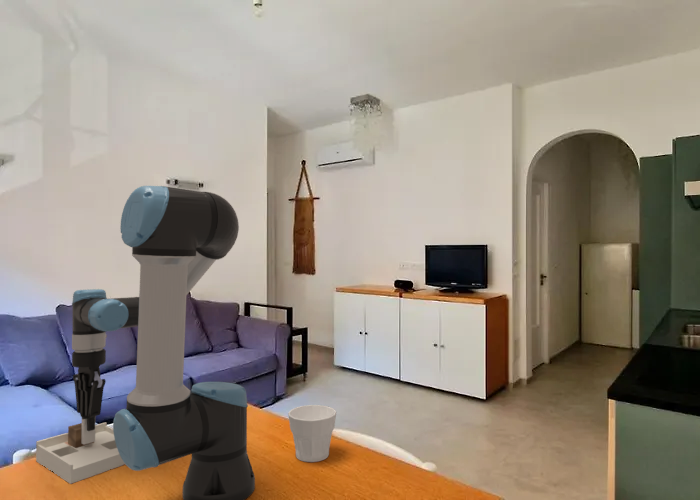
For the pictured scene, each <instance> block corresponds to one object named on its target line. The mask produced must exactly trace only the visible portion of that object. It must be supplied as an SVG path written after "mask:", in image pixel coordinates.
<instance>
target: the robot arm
mask: <svg viewBox="0 0 700 500" xmlns="http://www.w3.org/2000/svg"><path fill="white" fill-rule="evenodd" d="M122 209H123V210H122V213H121V218H120V233H121V239H122V241H123V244H125V245H126V246H128V247H129V248H132V249H131V256H132V257H133V258H134V259H135V260H136V261H137V262H138V263H139V265H140V269H139V271H140V272H139V293H138V296H133V297H132V296H131V297H115V298H113V297H112V298H107V292H106V290H104V289H99V288H98V289H96V288H95V289H94V288H93V289H88V288H87V289H77V290H75V291H74V292H73V293H72V303H71V307H72V327H71V328H72V331H71V332H72V333H71V350H72V351H73V352H72V353H71V365H72V367H74V368H78V369H77V373H75V374H73V375H72V379H73V382H74V392H75V400H76V402H75V403H76V412H77V413H78V414H79V415H80V417H81V423H82V435H81V443H82V444H84V445H85V444H88V443H92V442H95V425H96V417H97V416H100V415H101V411H102V403H103V395H104V387H105V384H106V382H107V381H106V379H105V378H102V379H101V370H100V368H101V366H102V365H104V364H105V363H106V361H107V359H106V358H107V357H106V356H107V355H106V351H107V350H106V349H105V348H106V345H107V344H106V342H107V341H106V340H107V337H108V335H107V334H106V333H107V332H115V331H118V330H119V329H125V328H127V329H128V328H135V327H137V346H136V347H137V348H136V369H135V370H136V373H135V375H136V377H135V387H134V389H133V390H131V391H130V392H129V393H128V394H127V396H126V407H125V408H122V409H120V410H119V411H117V412H116V413H115V415H114V418H113V423H112V428H113V431H114V438H115V442H116V446H117V449H118V452H119V454H120V456H121V458H122V460H123V462H124V463H125V465H126V467H128V468H129V469H130V470H132V471H134V472H135V471H137V472H140V471H143V470H147V469H150V468H158V466H161V465H163V464H166V463H169V462H172V461H175V460H178V459H180V458H184V457H186V456H189V455H191V459H190V462H189V466H188V469H187V471H186V476H185V479H184V481H183V484H182V499H183V500H246V499H247V498H249V497H250V496H251V495H252V494H254V493H253V492H254V491H255V489H256V488H255V487H256V478H255V473H254V471H253V467H252V464H251V460H250V458H249V455H248V449H247V448H248V447H247V446H248V439H247V437H248V435H247V434H248V433H247V432H248V431H247V429H248V427H247V426H248V425H247V423H248V409H247V408H248V400H247V399H248V397H247V391H246V389H245V387H244V386H243V385H240V384H237V383H235V382H233V383H232V382H227V381H226V382H225V381H224V382H223V381H202V382H197V383H195V384H193V385H192V387H191V390H190V389H189V388H188V387H187V386H186V385H185V384H184V364H185V345H186V344H185V342H186V341H185V340H186V337H185V336H186V320H187V319H186V318H187V317H186V314H187V296H188V294H189V293H190V292H191V291H192V289H193V288H194V287H195V286H196V285H197V283H198V282H199V281H200V279H202V277H203V276H204V275H205V274H206V273H207V271H208V270H209V269H210V268H211V267H212V265H213V264H215V262H216V261H218V260H222V259H223V258H225V257H226V256H227V255H228V253H230V251H231V250H232V248H233V247H234V245H235V244H236V242H237V238H238V235H239V230H240V229H239V228H240V226H239V219H238V216H237V212H236V210H235V209H234V207H233V206H232V204H231V203H230V202H229V201H228V200H227V199H226V198H225V197H222V196H221V195H219V194H216V193H213V192H209V191H198V190H191V189H185V188H179V187H173V186H172V187H171V186H165V185H142V186H139V187H137V188H136V189H134V190H133V191H132V193H130V195H129V197H128V199H127V200H126V202H125V204H124V207H123V208H122Z"/></svg>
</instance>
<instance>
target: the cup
mask: <svg viewBox="0 0 700 500" xmlns="http://www.w3.org/2000/svg"><path fill="white" fill-rule="evenodd" d="M287 415H288V421H289V422H288V423H289V429H290V431H291V433H292V437H293V442H294V449H295V457H296V459H298V460H299V461H300V462H301V461H302V462H305V463H318V462H321V461H324V460H326V459H327V458H328V457H329V455H330V447H331V441H332V435H333V434H332V433H333V432H334V429H335V426H336V425H335V424H336V417H337V411H336V409H334V408H333V407H330V406H327V405H322V404H320V405H319V404H310V405H309V404H308V405H307V404H306V405H301V406H297V407H294V408H292V409H290V410H289V411H288V413H287Z"/></svg>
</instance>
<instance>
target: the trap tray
mask: <svg viewBox="0 0 700 500" xmlns="http://www.w3.org/2000/svg"><path fill="white" fill-rule="evenodd" d="M107 423H108V422H102V423H98V424H95V442H94V443H91V444H88V445H85V446H81V447H78V448H74V447H73V446H71V445H69V444H68V432H65V433H61V434H58V435H54V436H51V437H47V438H44V439H39V440H37V441H36V442H35V446H36V451H35V454H36V455H35V460H36V461H35V462H36V463H38V464H39V465H41V466H42V465H43V467H44V466H45V467H46V469H47V468H48V469H47V470H49V471H50V470H51V471H50V472H52V471H53V472H54V473H53V472H52V473H53V474H55V475H56V474H57V475H56V476H58V477H59V476H60V477H59V478H60V479H62V480H64V481H65V482H67V483H68V484H69V485H70V484H74V483H76V482H80V481H82V480H85V479H86V480H87V479H88V478H90V477H94V476H97V475H99V474H102V473H104V472H107V471H110V469H111V470H114V469H115V468H118V467H119V468H120V467H122V466H124V465H126V464H125V463H124V462H123V460H122V458H121V456H120V454H119V452H118V449H117V446H116V442H115V438H114V431H113V427H110V426H108V424H107ZM45 467H44V468H45Z"/></svg>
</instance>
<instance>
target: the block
mask: <svg viewBox="0 0 700 500" xmlns="http://www.w3.org/2000/svg"><path fill="white" fill-rule="evenodd" d="M67 430H68V431H67V433H68V444H69V445H71V446H73V447H74V448H78V447H81V446H85V445H88V444H91V443H88V444H85V445H84V444H82V443H81V435H82V422H81V423H77V424H72V425H69V426H68V429H67ZM92 443H94V442H92Z"/></svg>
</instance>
